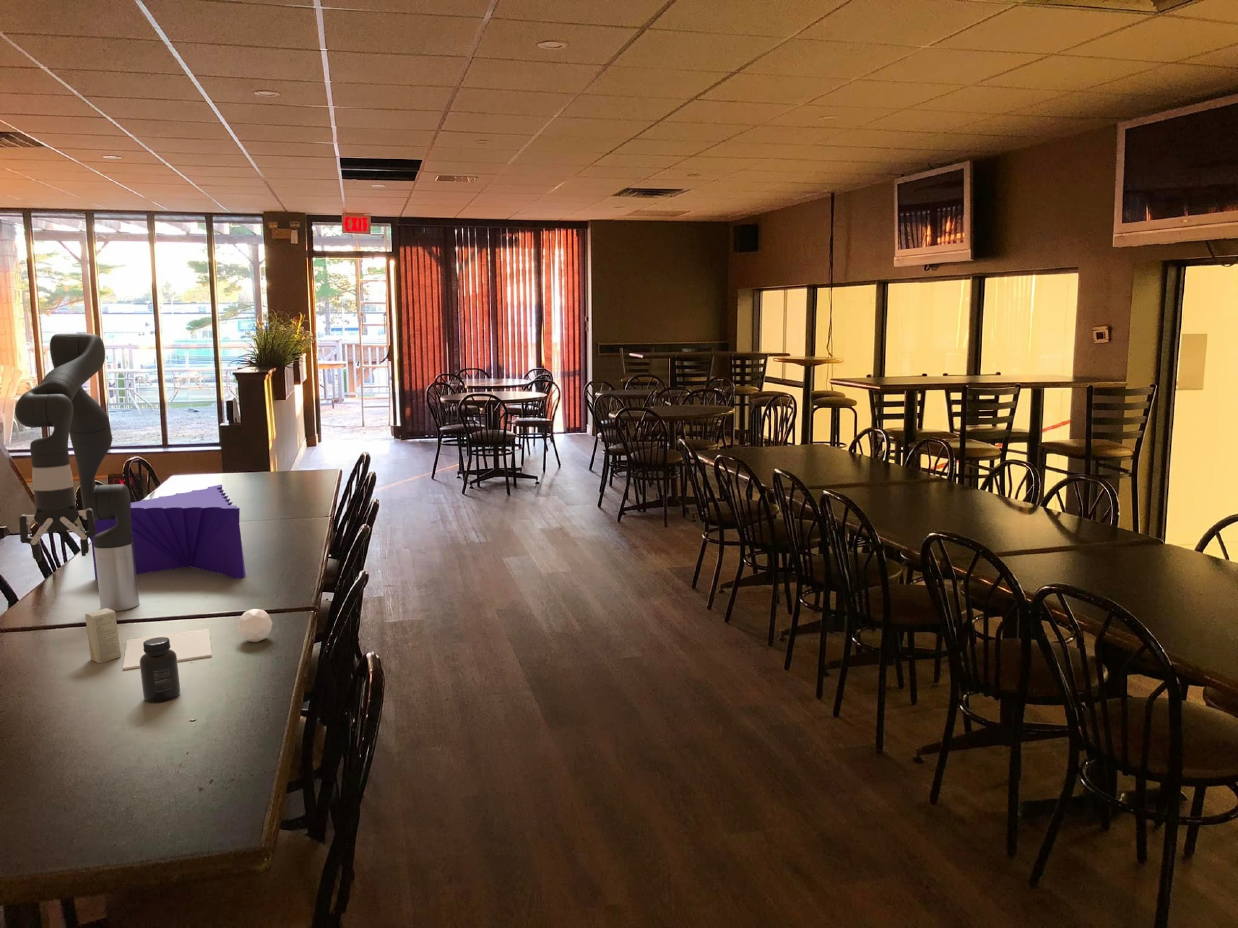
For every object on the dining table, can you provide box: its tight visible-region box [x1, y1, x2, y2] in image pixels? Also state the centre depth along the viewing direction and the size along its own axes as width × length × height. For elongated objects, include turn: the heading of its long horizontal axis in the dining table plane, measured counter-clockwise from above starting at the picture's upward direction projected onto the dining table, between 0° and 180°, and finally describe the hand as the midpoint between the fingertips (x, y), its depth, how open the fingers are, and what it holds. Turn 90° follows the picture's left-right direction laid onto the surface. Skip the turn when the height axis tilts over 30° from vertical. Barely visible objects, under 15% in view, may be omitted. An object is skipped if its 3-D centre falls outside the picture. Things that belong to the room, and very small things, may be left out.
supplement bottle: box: [139, 637, 181, 703], centre depth 191 cm, size 7×7×12 cm
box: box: [84, 608, 122, 664], centre depth 213 cm, size 5×4×11 cm
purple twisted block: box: [90, 484, 247, 580], centre depth 295 cm, size 40×45×21 cm
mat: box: [122, 628, 213, 671], centre depth 219 cm, size 20×18×1 cm
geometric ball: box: [236, 608, 273, 643], centre depth 224 cm, size 8×8×8 cm
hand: (61, 557), depth 207 cm, fingers open, 8 cm apart
